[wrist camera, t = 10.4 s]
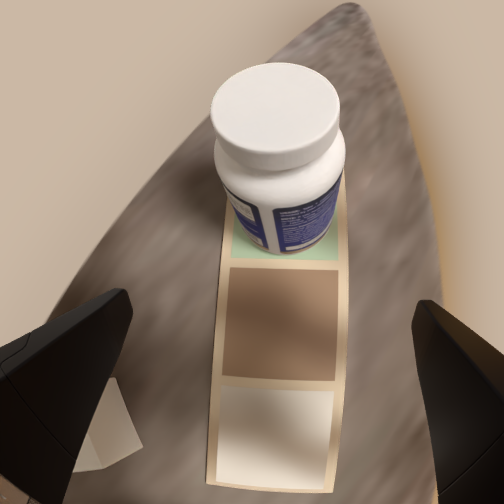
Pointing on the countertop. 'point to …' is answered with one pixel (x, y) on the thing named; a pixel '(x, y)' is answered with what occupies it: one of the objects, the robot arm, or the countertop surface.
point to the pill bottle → (279, 154)
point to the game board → (279, 362)
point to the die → (108, 433)
